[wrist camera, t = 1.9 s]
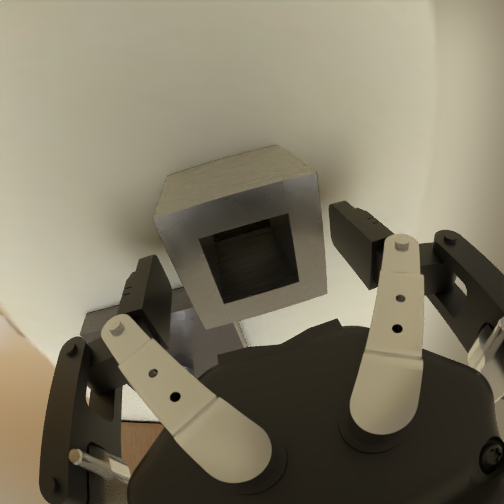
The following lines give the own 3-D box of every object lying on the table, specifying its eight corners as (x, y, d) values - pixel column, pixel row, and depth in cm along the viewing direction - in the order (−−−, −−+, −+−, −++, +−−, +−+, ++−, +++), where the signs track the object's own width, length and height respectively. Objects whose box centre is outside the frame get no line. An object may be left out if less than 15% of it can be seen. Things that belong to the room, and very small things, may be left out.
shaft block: (86, 313, 16) (57, 430, 9) (220, 276, 16) (244, 417, 9) (160, 394, 23) (163, 479, 15) (259, 374, 23) (282, 463, 16)
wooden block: (90, 416, 25) (91, 555, 8) (165, 420, 27) (183, 570, 10) (116, 441, 30) (122, 552, 13) (178, 443, 32) (195, 559, 15)
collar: (167, 175, 13) (152, 219, 8) (276, 145, 13) (316, 172, 9) (201, 264, 16) (205, 329, 12) (293, 238, 16) (327, 293, 12)
